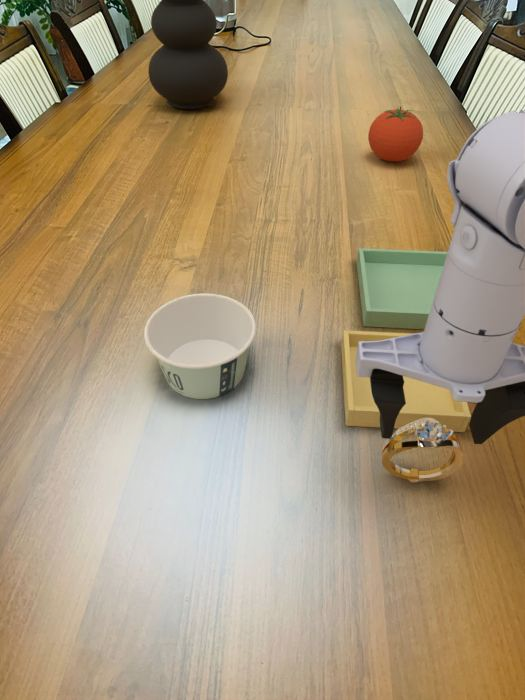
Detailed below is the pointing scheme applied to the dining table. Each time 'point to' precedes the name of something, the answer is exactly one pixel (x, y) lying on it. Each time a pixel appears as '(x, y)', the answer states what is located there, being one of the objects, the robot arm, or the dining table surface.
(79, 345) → the dining table surface
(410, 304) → the green tray
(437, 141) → the dining table surface
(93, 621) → the dining table surface
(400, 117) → the tomato
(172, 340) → the food container
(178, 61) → the vase
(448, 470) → the ring
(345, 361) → the yellow tray
